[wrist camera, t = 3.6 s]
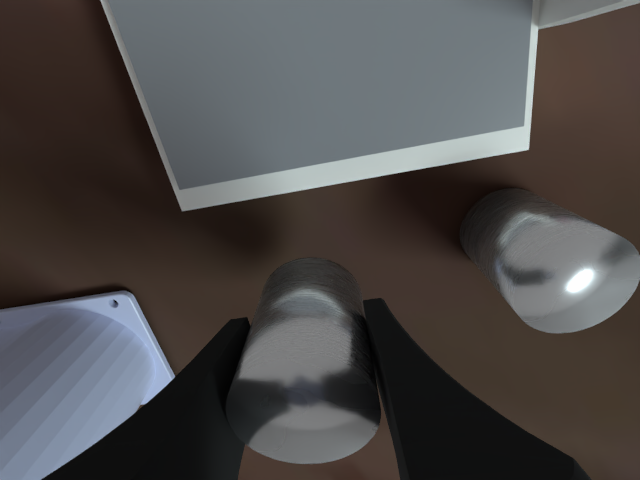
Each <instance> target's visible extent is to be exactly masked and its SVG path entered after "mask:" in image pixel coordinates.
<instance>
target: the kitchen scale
mask: <svg viewBox="0 0 640 480" xmlns="http://www.w3.org/2000/svg"><path fill="white" fill-rule="evenodd" d="M100 1H101V3H102V6H103V8H104V11H105V14H106V16H107V19H108V21H109V24H110V27H111V29H112V32H113V34H114V37H115V40H116V42H117V45H118V47H119V50H120V52H121V55H122V58H123V60H124V63H125V65H126V68H127V71H128V73H129V76H130V78H131V81H132V84H133V86H134V89H135V91H136V94H137V96H138V99H139V102H140V104H141V107H142V109H143V112H144V115H145V117H146V120H147V122H148V125H149V127H150V130H151V133H152V135H153V138H154V140H155V143H156V146H157V148H158V151H159V153H160V156H161V159H162V161H163V164H164V166H165V169H166V171H167V174H168V177H169V179H170V182H171V184H172V187H173V190H174V192H175V195H176V197H177V200H178V203H179V205H180V208H181V210H182V211H187V210H193V209H199V208H204V207H210V206H216V205H221V204H227V203H232V202H238V201H244V200H249V199H255V198H260V197H266V196H272V195H277V194H283V193H289V192H294V191H300V190H305V189H311V188H317V187H322V186H328V185H333V184H339V183H345V182H350V181H356V180H362V179H367V178H373V177H378V176H384V175H390V174H395V173H401V172H407V171H412V170H418V169H423V168H429V167H435V166H440V165H446V164H451V163H457V162H463V161H468V160H474V159H480V158H485V157H491V156H496V155H502V154H508V153H513V152H519V151H524V150H529V140H530V127H531V114H532V101H533V88H534V75H535V62H536V49H537V36H538V29H543V28H548V27H552V26H557V25H562V24H566V23H571V22H574V21H578V20H581V19H585V18H588V17H592V16H595V15H599V14H602V13H606V12H609V11H613V10H616V9H620V8H623V7H627V6H630V5H634V4H637V3H640V0H100Z"/></svg>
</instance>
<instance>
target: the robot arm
mask: <svg viewBox="0 0 640 480" xmlns="http://www.w3.org/2000/svg"><path fill="white" fill-rule="evenodd" d="M114 300H115V301H117V302H118V303H116V302H115V301H114ZM363 305H364V312H365V318H366V324H367V330H368V336H369V342H370V347H371V353H372V359H373V365H374V371H375V377H376V381H377V385H378V388H379V392H380V396H381V399H382V403H383V407H384V411H385V414H386V418H387V422H388V425H389V429H390V433H391V436H392V440H393V445H394V449H395V453H396V458H397V463H398V469H399V474H400V480H591V478H590V477H589V476H588V475H587V474H586V472H585V471H584V470H583V469H582V468H581V466H580V465H579V464H578V463H577V462H576V461H575V459H573V458H572V457H570V456H568V455H567V454H565V453H563V452H561V451H560V450H558V449H556V448H554V447H553V446H551V445H549V444H547V443H546V442H544V441H542V440H541V439H539V438H537V437H535V436H534V435H532V434H530V433H528V432H527V431H525V430H524V429H522V428H520V427H519V426H517V425H516V424H514V423H513V422H511V421H510V420H508V419H507V418H505V417H504V416H502V415H501V414H499V413H498V412H497V411H495V410H494V409H492V408H491V407H490V406H488V405H487V404H486V403H484V402H483V401H481V400H480V399H479V398H477V397H476V396H475V395H473V394H472V393H470V392H469V391H468V390H467V389H465V388H464V387H463V386H462V385H460V384H459V383H458V382H457V381H456V380H454V379H453V378H452V377H451V376H450V375H449V374H447V373H446V372H445V371H444V370H443V369H442V368H441V367H440V366H438V365H437V364H436V363H435V362H434V361H433V360H432V359H431V358H430V357H429V356H428V355H427V354H426V353H425V352H424V351H423V350H422V349H421V348H420V347H419V346H418V345H417V343H416V342H415V341H414V340H413V339H412V338H411V337H410V336H409V334H408V333H407V332H406V331H405V330H404V328H403V327H402V326H401V325H400V324H399V322H398V321H397V320H396V318H395V317H394V315H393V314H392V313H391V311H390V310H389V308H388V306H387V305H386V303H385V301H384V300H383V299H381V298H377V299H370V300H363ZM249 330H250V324H249V321H248V318H247V317H245V318H238V319H231V320H230V321H229V322H228V323H227V324H226V325H225V326H224V327H223V328H222V329H221V330H220V331H219V332H218V333H217V334H216V335H215V336H214V337H213V338H212V340H211V341H210V342H209V343H208V344H207V345H206V346H205V347H204V348H203V349H202V350H201V351H200V352H199V353H198V355H197V356H196V357H195V358H194V359H193V360H192V361H191V362H190V363H189V364H188V365H187V366H186V367H185V368H184V369H183V370H182V371H181V372H180V373H179V374H178V375H177V376H176V377H175V375H174V373H173V371H172V369H171V368H170V366H169V364H168V362H167V360H166V358H165V356H164V354H163V352H162V350H161V348H160V346H159V344H158V342H157V340H156V338H155V336H154V334H153V332H152V330H151V328H150V326H149V324H148V322H147V320H146V318H145V317H144V315H143V313H142V311H141V309H140V307H139V305H138V303H137V301H136V299H135V297H134V296H133V294H131V293H130V292H128V291H117V292H111V293H104V294H98V295H91V296H85V297H78V298H72V299H65V300H59V301H53V302H46V303H40V304H33V305H27V306H20V307H14V308H7V309H1V310H0V480H238V474H239V468H240V464H241V459H242V454H243V450H244V446H245V443H244V442H242V441H241V440H240V439H239V438H238V437H237V435H236V434H235V433H234V431H233V430H232V428H231V426H230V424H229V422H228V419H227V415H226V401H227V396H228V393H229V390H230V387H231V384H232V381H233V378H234V375H235V372H236V369H237V366H238V363H239V360H240V357H241V354H242V351H243V348H244V345H245V342H246V339H247V336H248V333H249ZM142 404H145V405H144V406H143V407H141V408H140V409H139V410H138V411H137V409H138V407H139V406H140V405H142ZM136 411H137V412H136ZM135 412H136V413H135Z"/></svg>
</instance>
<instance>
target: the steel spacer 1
mask: <svg viewBox="0 0 640 480" xmlns="http://www.w3.org/2000/svg"><path fill="white" fill-rule="evenodd" d="M226 415H227V419H228V422H229V424H230V426H231V428H232V430H233V431H234V433H235V434H236V435H237V437H238V438H239V439H240V440H241V441H242V442H244V443H245V444H246V445H247V446H249V447H250V448H252V449H253V450H255V451H257V452H259V453H261V454H263V455H265V456H268V457H270V458H273V459H276V460H280V461H284V462H289V463H298V464H318V463H325V462H330V461H335V460H338V459H341V458H344V457H346V456H348V455H351V454H353V453H354V452H356V451H358V450H359V449H361V448H362V447H363V446H365V445H366V444H367V443H368V442H369V441H370V440H371V438H372V437H373V436H374V434H375V433H376V431H377V429H378V426H379V423H380V418H381V408H380V402H379V395H378V389H377V383H376V377H375V371H374V365H373V359H372V353H371V347H370V342H369V336H368V330H367V324H366V318H365V312H364V305H363V299H362V293H361V289H360V287H359V284H358V283H357V281H356V279H355V278H354V277H353V275H352V274H351V273H350V272H349V271H348V270H346V269H345V268H344V267H342V266H341V265H339V264H337V263H335V262H332V261H330V260H326V259H322V258H312V257H308V258H300V259H295V260H292V261H289V262H287V263H285V264H283V265H281V266H280V267H278V268H277V269H276V270H275V271H274V272H273V273H272V274H271V275H270V276H269V278H268V279H267V281H266V283H265V285H264V288H263V291H262V294H261V297H260V300H259V303H258V306H257V309H256V312H255V315H254V318H253V321H252V324H251V327H250V330H249V333H248V336H247V339H246V342H245V345H244V348H243V351H242V354H241V357H240V360H239V363H238V366H237V369H236V372H235V375H234V378H233V381H232V384H231V387H230V390H229V393H228V396H227V401H226Z"/></svg>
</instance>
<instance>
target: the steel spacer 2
mask: <svg viewBox="0 0 640 480" xmlns="http://www.w3.org/2000/svg"><path fill="white" fill-rule="evenodd" d="M460 242H461V246H462V248H463V250H464V251H465V253H466V254H467V255H468V256H469V258H470V259H471V260H472V261H473V262H474V264H475V265H476V266H477V267H478V268H479V269H480V271H481V272H482V273H483V274H484V275H485V276H486V278H487V279H488V280H489V281H490V282H491V284H492V285H493V286H494V287H495V288H496V289H497V291H498V292H499V293H500V294H501V295H502V296H503V298H504V299H505V300H506V301H507V302H508V304H509V305H510V306H511V307H512V308H513V309H514V311H515V312H516V313H517V314H518V315H519V316H520V318H521V319H522V320H523V321H524V322H525V323H527V324H528V325H529V326H531V327H533V328H535V329H537V330H540V331H544V332H549V333H569V332H575V331H579V330H583V329H586V328H589V327H592V326H594V325H596V324H598V323H600V322H602V321H604V320H605V319H607V318H609V317H610V316H612V315H613V314H614V313H616V312H617V311H618V310H619V309H620V308H621V307H622V306H623V305H624V304H625V303H626V302H627V301H628V300H629V298H630V297H631V296H632V294H633V293H634V291H635V289H636V287H637V285H638V283H639V280H640V256H639V253H638V251H637V250H636V248H635V247H634V246H633V245H632V244H631V243H630V242H629V241H628V240H626V239H625V238H623V237H621V236H619V235H617V234H615V233H613V232H611V231H609V230H607V229H605V228H603V227H601V226H599V225H597V224H595V223H593V222H591V221H589V220H587V219H585V218H583V217H581V216H579V215H577V214H575V213H573V212H571V211H569V210H567V209H565V208H562V207H560V206H558V205H556V204H554V203H552V202H550V201H548V200H546V199H544V198H542V197H540V196H538V195H536V194H534V193H532V192H530V191H528V190H525V189H521V188H505V189H500V190H497V191H494V192H491V193H489V194H487V195H486V196H484V197H482V198H481V199H480V200H478V201H477V202H476V203H475V204H474V205H473V206H472V207H471V208H470V209H469V211H468V212H467V214H466V215H465V217H464V219H463V221H462V224H461V228H460Z"/></svg>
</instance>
